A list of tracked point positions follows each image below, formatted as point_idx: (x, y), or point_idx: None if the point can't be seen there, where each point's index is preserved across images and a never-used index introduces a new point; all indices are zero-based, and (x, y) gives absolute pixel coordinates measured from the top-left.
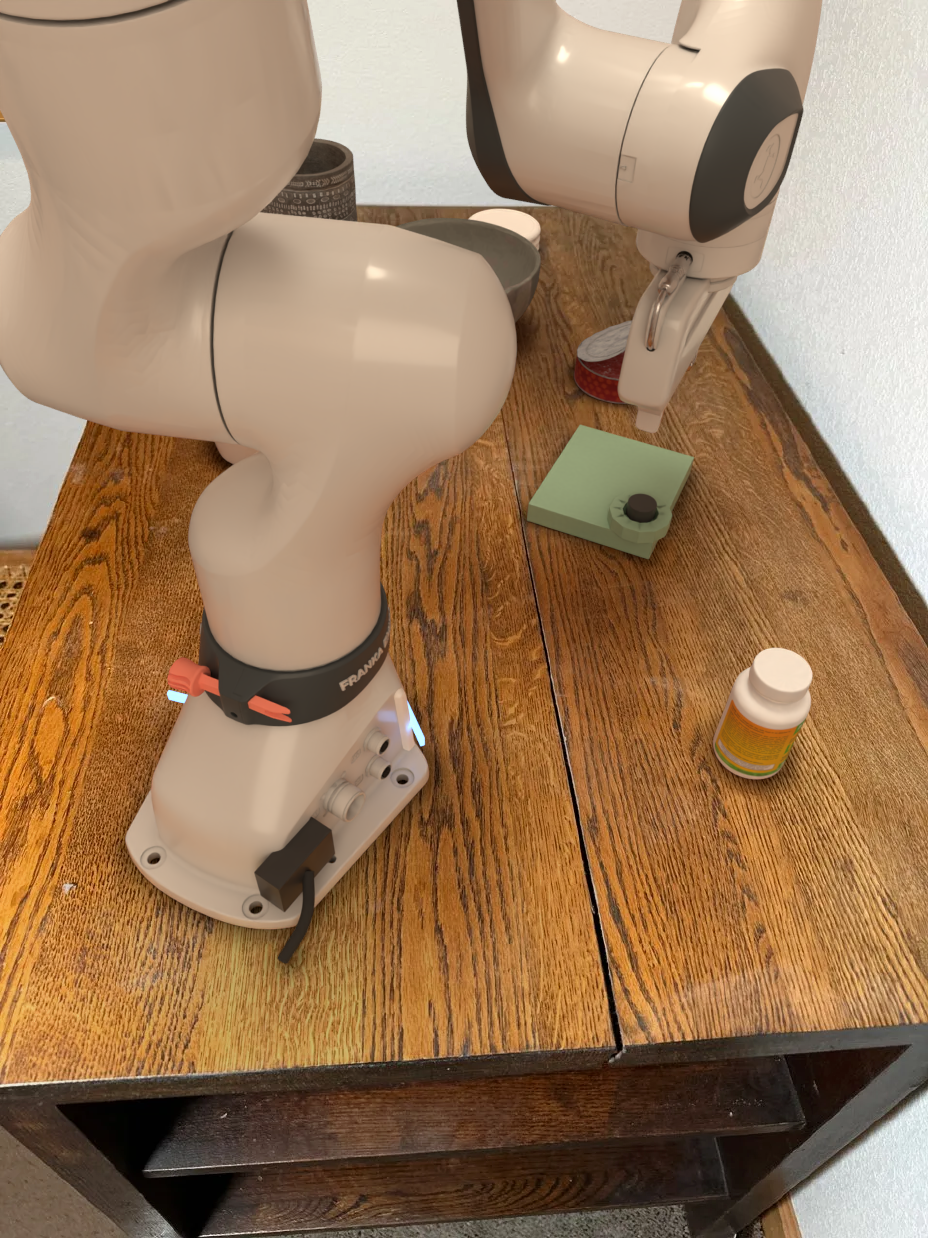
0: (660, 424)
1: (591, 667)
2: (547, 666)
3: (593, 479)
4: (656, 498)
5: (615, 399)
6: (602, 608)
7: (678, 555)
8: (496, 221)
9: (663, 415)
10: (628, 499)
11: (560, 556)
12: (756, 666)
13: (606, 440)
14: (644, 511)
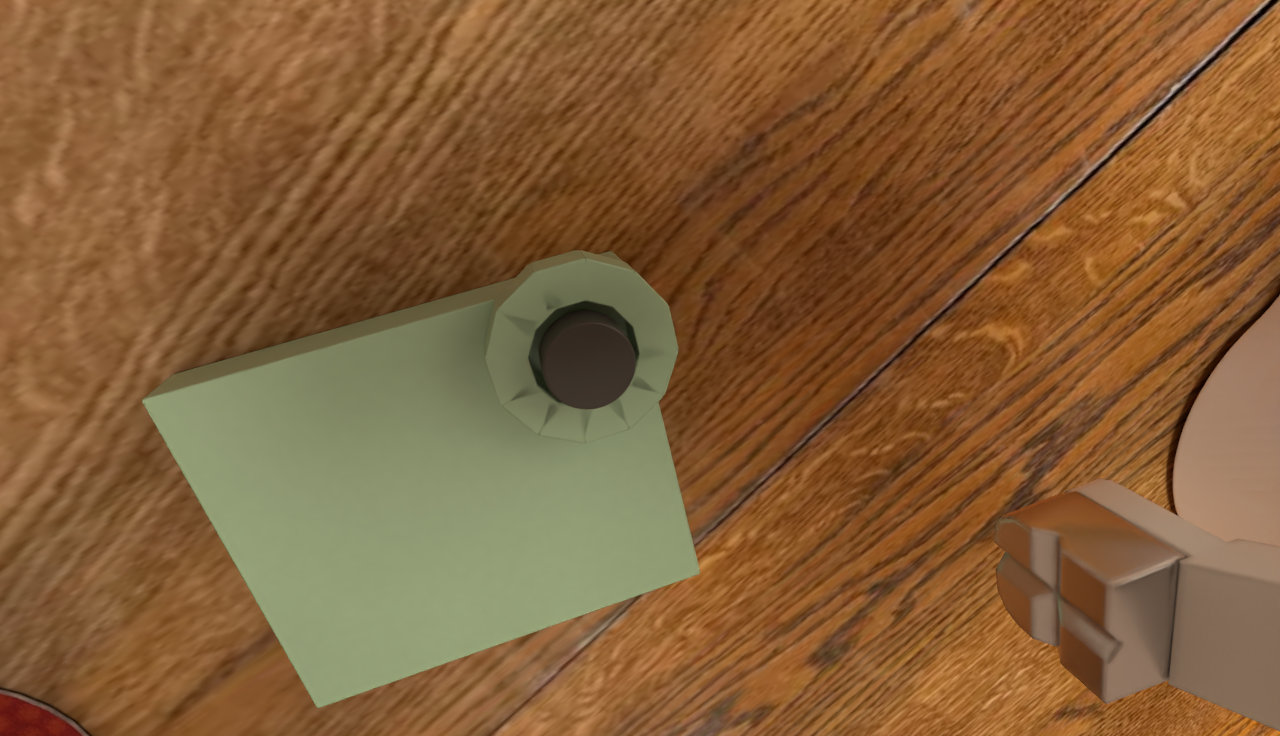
0: (1068, 501)
1: (995, 154)
2: (1031, 231)
3: (505, 534)
4: (497, 355)
5: (65, 731)
6: (829, 240)
7: (538, 195)
8: None
9: (1070, 537)
10: (604, 405)
11: (737, 416)
12: None
13: (318, 621)
14: (625, 337)
